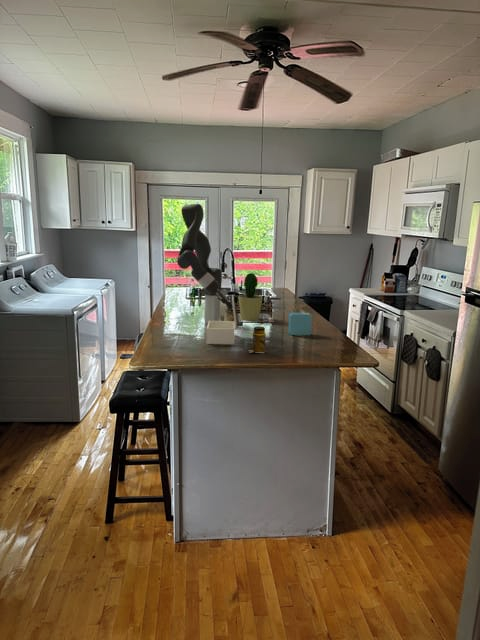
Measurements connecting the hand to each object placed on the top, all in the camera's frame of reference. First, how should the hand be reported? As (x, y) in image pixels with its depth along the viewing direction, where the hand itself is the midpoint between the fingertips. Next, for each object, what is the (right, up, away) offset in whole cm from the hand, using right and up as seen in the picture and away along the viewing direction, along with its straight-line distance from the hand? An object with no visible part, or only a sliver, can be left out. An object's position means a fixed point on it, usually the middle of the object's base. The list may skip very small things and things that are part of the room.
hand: (231, 307), depth 231 cm
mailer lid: (+1, -2, +1) cm, 2 cm away
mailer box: (-6, -17, +4) cm, 18 cm away
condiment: (+12, -22, -17) cm, 30 cm away
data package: (+37, -15, +18) cm, 44 cm away
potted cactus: (+11, -6, +55) cm, 56 cm away
